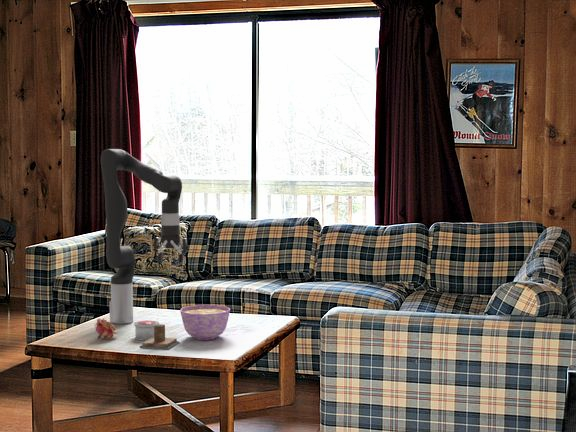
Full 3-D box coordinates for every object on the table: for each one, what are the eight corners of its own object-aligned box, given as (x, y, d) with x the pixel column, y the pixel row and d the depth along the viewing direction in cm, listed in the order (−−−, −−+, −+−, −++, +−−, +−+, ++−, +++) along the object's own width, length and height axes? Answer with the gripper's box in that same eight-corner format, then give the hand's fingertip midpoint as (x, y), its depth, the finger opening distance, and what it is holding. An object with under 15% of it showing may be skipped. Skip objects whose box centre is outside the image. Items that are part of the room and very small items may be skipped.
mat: (139, 347, 319) (139, 346, 319) (150, 341, 330) (150, 339, 330) (169, 349, 316) (169, 347, 316) (179, 342, 327) (179, 341, 327)
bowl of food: (174, 334, 341) (174, 306, 340) (221, 330, 349) (220, 303, 348) (188, 345, 322) (188, 315, 321) (237, 340, 330) (237, 311, 329)
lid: (142, 345, 319) (142, 327, 319) (152, 340, 329) (152, 321, 328) (167, 347, 317) (166, 328, 316) (176, 341, 327) (176, 323, 326)
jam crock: (130, 339, 332) (130, 324, 332) (140, 334, 342) (140, 319, 341) (153, 340, 330) (153, 325, 330) (162, 335, 340) (162, 320, 339)
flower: (92, 338, 328) (104, 321, 328) (86, 328, 335) (98, 312, 336) (111, 348, 333) (123, 332, 333) (105, 339, 340) (117, 323, 341)
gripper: (150, 224, 346) (151, 263, 347) (183, 225, 342) (183, 264, 344) (157, 222, 353) (158, 260, 354) (189, 223, 350) (190, 261, 351)
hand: (170, 262), depth 349 cm, fingers open, 8 cm apart
